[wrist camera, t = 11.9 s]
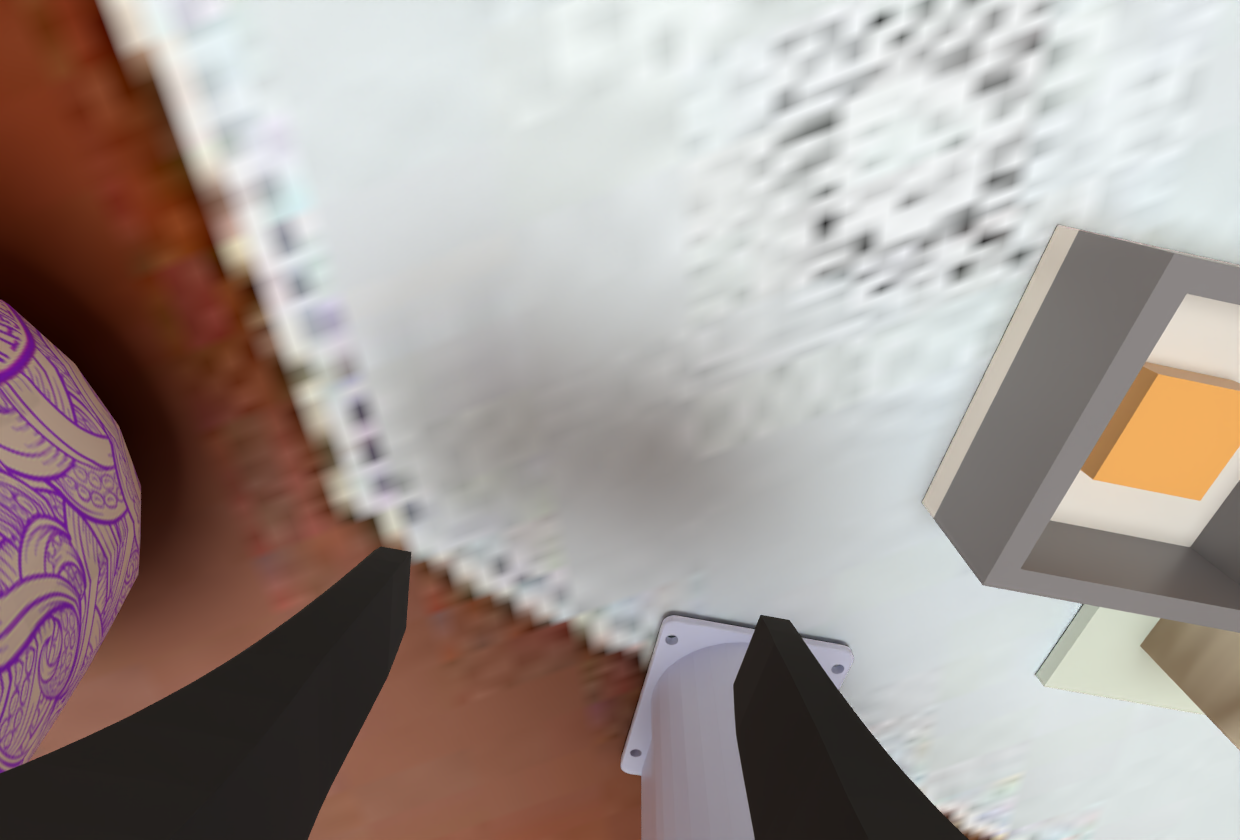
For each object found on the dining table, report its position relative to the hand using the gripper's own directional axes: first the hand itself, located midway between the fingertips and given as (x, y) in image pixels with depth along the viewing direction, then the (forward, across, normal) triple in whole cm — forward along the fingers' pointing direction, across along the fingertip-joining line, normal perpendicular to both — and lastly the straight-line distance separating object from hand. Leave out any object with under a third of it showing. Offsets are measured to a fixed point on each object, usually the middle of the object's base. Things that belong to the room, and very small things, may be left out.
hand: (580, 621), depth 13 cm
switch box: (+10, -17, -4) cm, 20 cm away
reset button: (+9, -17, -4) cm, 20 cm away
